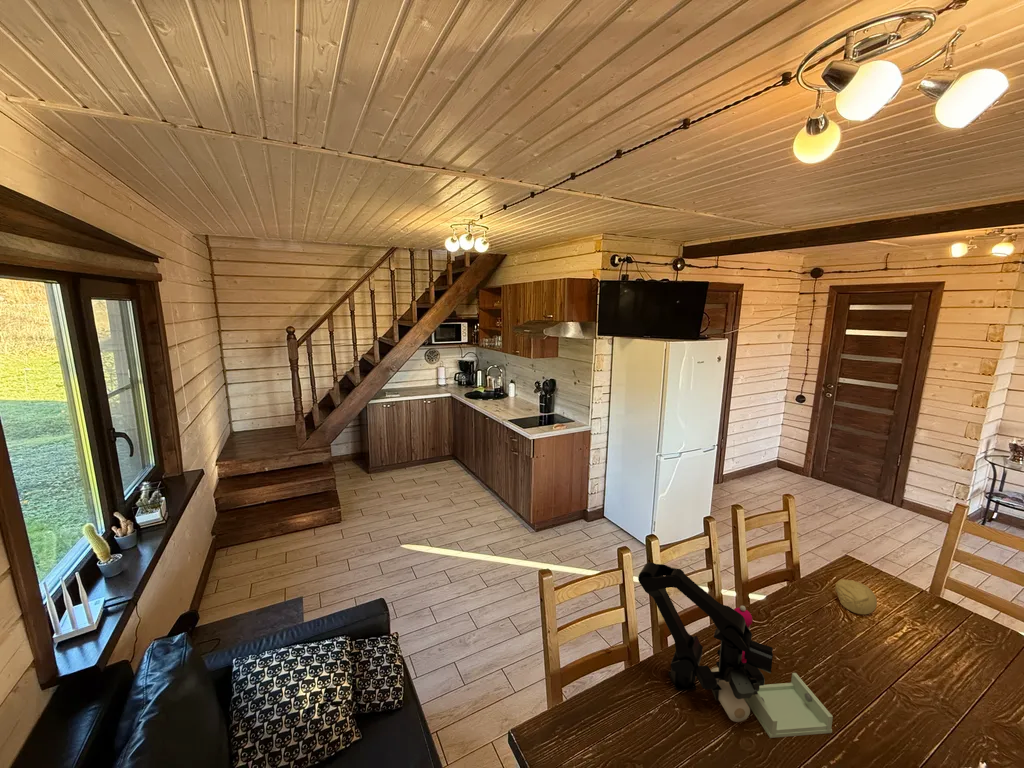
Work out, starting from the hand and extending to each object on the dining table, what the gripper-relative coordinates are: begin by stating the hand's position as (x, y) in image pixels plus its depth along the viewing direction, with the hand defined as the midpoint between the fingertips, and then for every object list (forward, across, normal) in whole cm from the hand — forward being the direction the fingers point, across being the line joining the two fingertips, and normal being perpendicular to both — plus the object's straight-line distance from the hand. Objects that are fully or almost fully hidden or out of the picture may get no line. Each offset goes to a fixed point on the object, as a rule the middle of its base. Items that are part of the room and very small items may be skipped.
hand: (726, 698), depth 125 cm
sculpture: (+2, +72, +34) cm, 80 cm away
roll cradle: (+1, +15, -4) cm, 16 cm away
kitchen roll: (-2, 0, 0) cm, 2 cm away
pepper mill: (+1, +13, +15) cm, 20 cm away
